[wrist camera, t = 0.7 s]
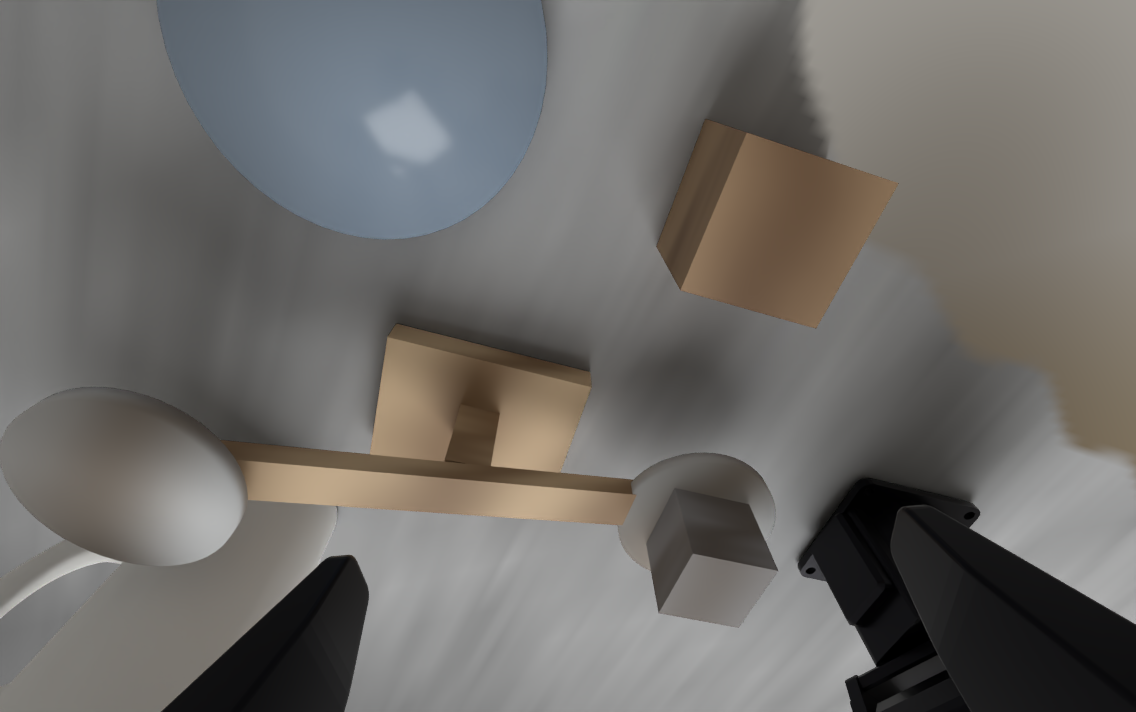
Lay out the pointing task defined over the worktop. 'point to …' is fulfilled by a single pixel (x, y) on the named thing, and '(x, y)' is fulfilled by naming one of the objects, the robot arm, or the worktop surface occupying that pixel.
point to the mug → (161, 613)
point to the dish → (365, 102)
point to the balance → (395, 473)
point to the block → (768, 224)
